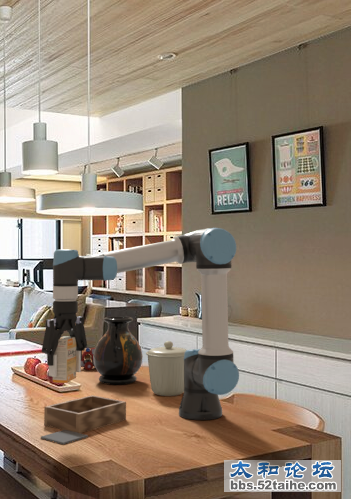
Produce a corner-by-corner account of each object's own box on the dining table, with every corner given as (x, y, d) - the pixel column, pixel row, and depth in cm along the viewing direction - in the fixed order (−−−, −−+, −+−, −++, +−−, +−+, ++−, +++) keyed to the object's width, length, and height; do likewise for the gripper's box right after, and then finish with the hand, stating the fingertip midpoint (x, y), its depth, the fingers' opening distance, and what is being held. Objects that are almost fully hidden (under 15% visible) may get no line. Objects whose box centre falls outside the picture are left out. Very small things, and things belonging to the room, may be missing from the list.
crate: (92, 412, 230) (92, 395, 230) (125, 419, 220) (126, 401, 220) (44, 425, 213) (44, 406, 213) (78, 433, 203) (78, 414, 203)
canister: (200, 393, 261) (200, 341, 261) (167, 400, 249) (167, 345, 249) (169, 387, 274) (169, 337, 274) (136, 393, 262) (136, 340, 262)
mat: (87, 437, 199) (87, 435, 199) (63, 444, 191) (63, 442, 191) (65, 431, 205) (65, 429, 205) (40, 438, 197) (40, 436, 197)
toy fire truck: (78, 368, 318) (78, 347, 318) (103, 367, 322) (103, 345, 322) (81, 370, 311) (81, 349, 311) (106, 369, 315) (106, 347, 315)
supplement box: (67, 383, 194) (67, 339, 194) (52, 382, 195) (52, 339, 195) (77, 378, 202) (77, 336, 202) (62, 377, 203) (62, 335, 203)
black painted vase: (136, 387, 273) (136, 320, 273) (86, 385, 276) (87, 319, 276) (146, 378, 294) (147, 316, 294) (100, 376, 297) (101, 314, 297)
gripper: (82, 297, 209) (82, 367, 209) (29, 301, 192) (28, 377, 192) (99, 298, 205) (99, 370, 205) (46, 302, 188) (45, 380, 187)
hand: (64, 373), depth 198 cm, fingers closed on supplement box, 9 cm apart
